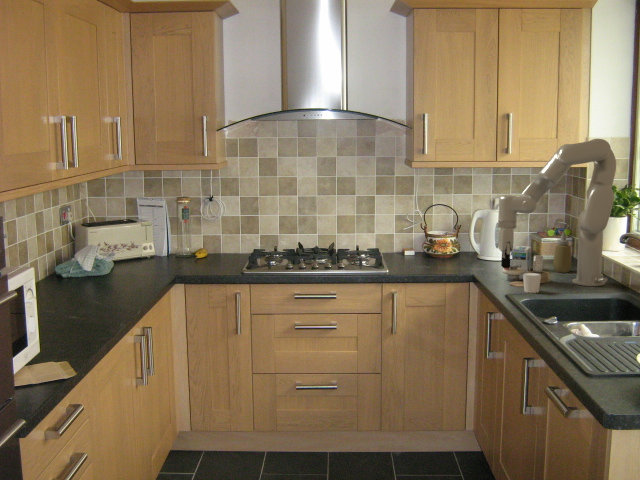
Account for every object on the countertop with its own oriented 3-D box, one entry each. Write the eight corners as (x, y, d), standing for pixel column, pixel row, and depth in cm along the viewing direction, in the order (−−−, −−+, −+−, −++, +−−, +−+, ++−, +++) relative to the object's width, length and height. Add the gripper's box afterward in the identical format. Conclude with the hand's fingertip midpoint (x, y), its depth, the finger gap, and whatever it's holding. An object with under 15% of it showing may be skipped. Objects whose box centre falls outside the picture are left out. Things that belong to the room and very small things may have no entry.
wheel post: (521, 280, 308) (522, 273, 308) (513, 281, 306) (513, 274, 305) (513, 278, 312) (513, 271, 312) (504, 279, 310) (505, 273, 310)
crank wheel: (528, 274, 305) (529, 256, 304) (509, 275, 303) (509, 257, 302) (517, 270, 314) (518, 253, 313) (499, 271, 312) (499, 254, 311)
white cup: (531, 288, 292) (532, 271, 291) (544, 291, 286) (544, 274, 285) (518, 290, 289) (519, 273, 288) (531, 293, 283) (531, 276, 282)
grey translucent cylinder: (543, 281, 305) (544, 256, 304) (537, 282, 304) (538, 257, 302) (537, 280, 309) (538, 254, 307) (530, 281, 307) (531, 255, 305)
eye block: (549, 281, 305) (549, 272, 304) (537, 283, 302) (537, 274, 301) (537, 279, 311) (537, 270, 310) (525, 280, 308) (525, 271, 307)
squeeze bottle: (572, 273, 322) (574, 234, 319) (553, 273, 323) (555, 233, 321) (570, 270, 330) (571, 231, 327) (551, 269, 331) (553, 231, 329)
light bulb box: (527, 273, 325) (528, 249, 323) (512, 272, 328) (512, 248, 326) (531, 268, 334) (531, 246, 333) (516, 268, 337) (516, 245, 336)
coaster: (537, 285, 298) (537, 284, 297) (520, 288, 293) (520, 286, 293) (521, 281, 305) (521, 280, 305) (505, 284, 301) (505, 282, 301)
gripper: (495, 222, 313) (494, 263, 316) (501, 226, 297) (499, 270, 300) (513, 222, 312) (511, 263, 315) (519, 227, 297) (517, 270, 299)
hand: (505, 266), depth 308 cm, fingers closed
